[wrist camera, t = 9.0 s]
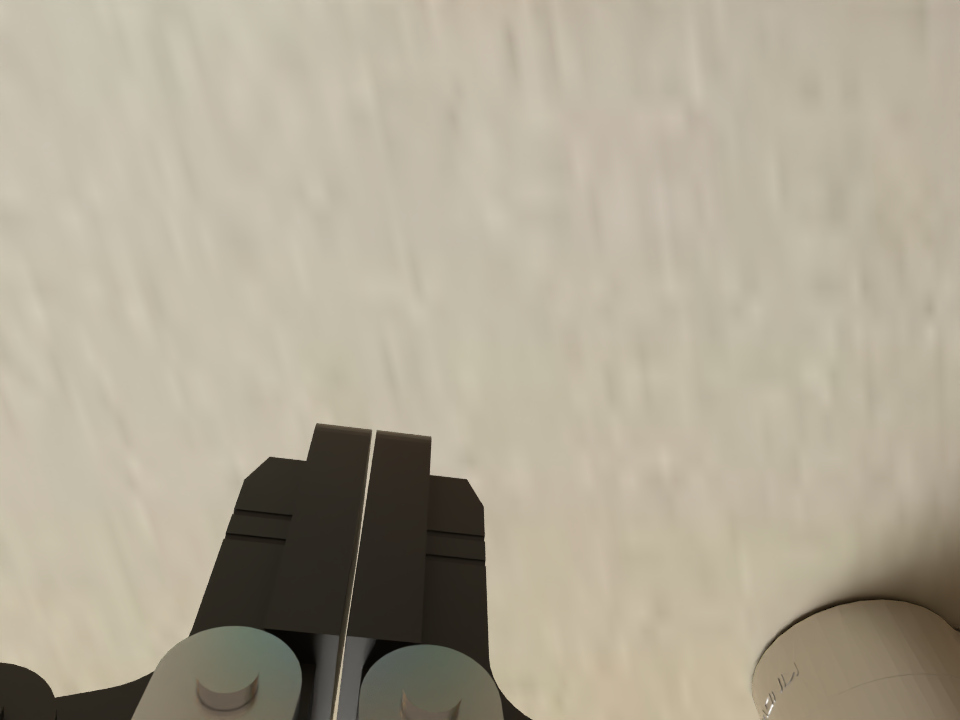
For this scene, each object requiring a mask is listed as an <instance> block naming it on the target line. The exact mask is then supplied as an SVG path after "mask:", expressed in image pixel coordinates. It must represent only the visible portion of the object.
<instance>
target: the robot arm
mask: <svg viewBox="0 0 960 720" xmlns="http://www.w3.org/2000/svg"><path fill="white" fill-rule="evenodd" d="M371 436H372V430H369V429H361V428H352V427H344V426H336V425H327V424H319V423H317V424H316V426H315V430H314V434H313V438H312V441H311V445H310V449H309V453H308V457H307V461H301V460H293V459H284V458H275V457H269V458H268V459H267V460H266V461H265V462H264V463H262V464H261V465H260V466H259V467H258V468H257V469H256V470H255V471H254V472H253V473H251V474H250V475H249V476H248V477H247V478H246V479H245V480H244V482H243V485H242V488H241V491H240V494H239V497H238V500H237V502H236V505H235V508H234V514H232V517H231V520H230V522H229V525H228V528H227V531H226V536H225V539H224V540H223V542H222V545H221V548H220V551H219V554H218V557H217V559H216V562H215V565H214V568H213V571H212V574H211V577H210V579H209V582H208V585H207V588H206V591H205V594H204V597H203V599H202V602H201V605H200V608H199V611H198V614H197V617H196V619H195V622H194V625H193V628H192V630H191V633H190V635H189V637H188V638H186V639H184V640H183V641H181V642H179V643H178V644H177V645H175V646H174V647H173V648H172V649H171V650H169V651H168V652H167V654H166V655H165V656H164V657H163V658H162V659H161V661H160V662H159V664H158V666H157V667H156V669H155V671H154V672H152V673H150V674H148V675H146V676H144V677H142V678H140V679H138V680H135V681H133V682H130V683H127V684H124V685H121V686H116V687H112V688H108V689H102V690H97V691H91V692H85V693H79V694H74V695H68V696H62V697H57V698H55V697H54V695H53V692H52V690H51V688H50V687H49V685H48V684H47V683H46V681H45V680H44V679H43V678H41V677H40V676H39V675H38V674H36V673H35V672H33V671H31V670H29V669H27V668H24V667H21V666H17V665H14V664H7V663H0V720H333V714H334V707H335V701H336V694H337V687H338V681H339V674H340V667H341V661H342V654H343V647H344V641H345V634H346V627H347V620H348V614H349V607H350V600H351V594H352V587H353V580H354V574H355V567H356V560H357V553H358V545H359V537H360V529H361V521H362V513H363V504H364V496H365V487H366V479H367V470H368V462H369V453H370V445H371ZM430 458H431V437H430V436H421V435H413V434H404V433H396V432H388V431H379V430H377V433H376V439H375V446H374V453H373V459H372V466H371V473H370V480H369V486H368V493H367V500H366V507H365V513H364V520H363V527H362V534H361V540H360V547H359V554H358V561H357V567H356V574H355V581H354V588H353V595H352V601H351V608H350V615H349V622H348V628H347V635H346V643H345V652H344V661H343V669H342V678H341V686H340V695H339V704H338V712H337V720H532V719H530V718H529V717H527V716H525V715H524V714H523V713H521V712H520V711H519V710H518V709H516V708H515V707H514V706H513V705H512V704H511V703H510V702H509V701H508V700H507V699H506V697H505V696H504V695H503V693H502V692H501V690H500V689H499V688H498V686H497V684H496V682H495V680H494V678H493V675H492V671H491V668H490V662H489V645H488V616H487V588H486V566H485V542H484V537H485V532H484V506H483V505H482V503H481V502H480V500H479V498H478V497H477V495H476V493H475V492H474V490H473V489H472V487H471V485H470V484H469V482H468V480H467V479H459V478H451V477H442V476H433V475H430ZM752 696H753V699H754V702H755V705H756V708H757V710H758V713H759V716H760V719H761V720H960V632H959V631H956V630H954V629H953V628H952V627H951V626H950V625H948V624H947V623H946V622H945V621H944V620H943V619H942V618H941V617H940V616H939V615H937V614H935V613H934V612H932V611H930V610H928V609H926V608H924V607H921V606H918V605H915V604H911V603H908V602H903V601H893V600H868V601H858V602H853V603H848V604H843V605H839V606H835V607H833V608H830V609H827V610H824V611H821V612H819V613H816V614H814V615H812V616H810V617H808V618H806V619H804V620H803V621H801V622H799V623H797V624H795V625H794V626H792V627H791V628H790V629H789V630H787V631H786V632H785V633H783V634H782V635H781V636H779V637H778V638H777V639H776V640H775V641H774V642H773V644H772V645H771V646H770V647H769V648H768V649H767V650H766V651H765V653H764V654H763V656H762V658H761V659H760V661H759V663H758V664H757V666H756V669H755V673H754V676H753V680H752Z"/></svg>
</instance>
